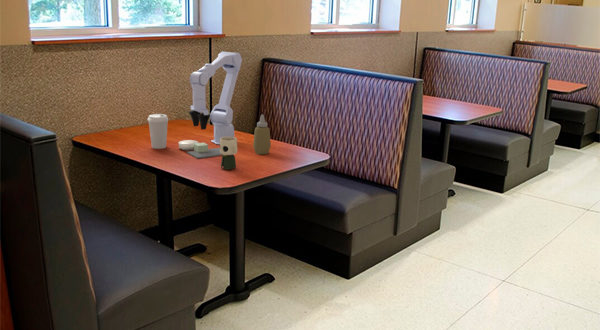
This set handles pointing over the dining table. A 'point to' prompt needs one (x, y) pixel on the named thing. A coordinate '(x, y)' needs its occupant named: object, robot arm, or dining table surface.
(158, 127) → the coffee cup
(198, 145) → the pale green square block
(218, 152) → the mat
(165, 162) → the dining table surface
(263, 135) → the squeeze bottle
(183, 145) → the white shallow dome
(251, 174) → the dining table surface
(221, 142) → the character mug
